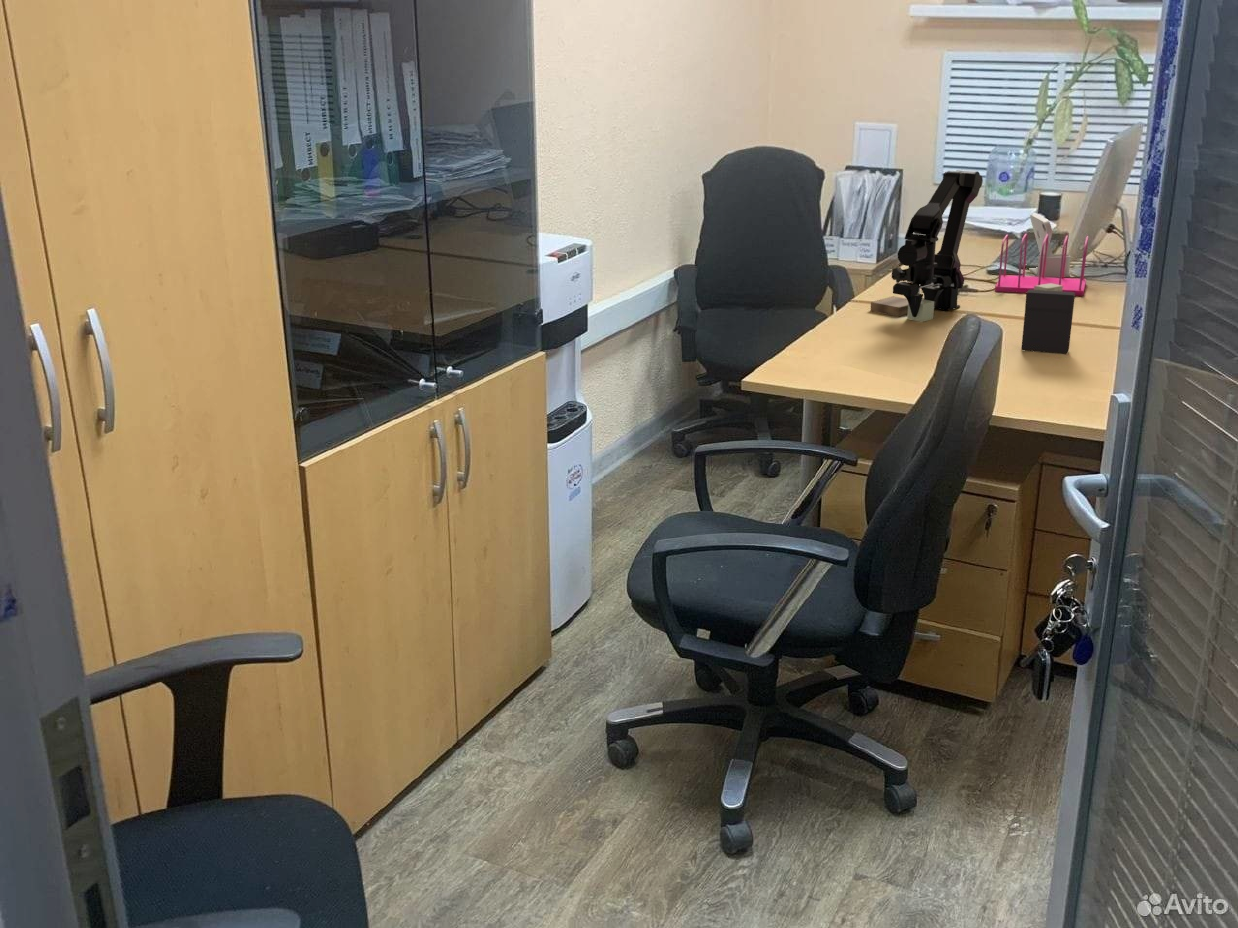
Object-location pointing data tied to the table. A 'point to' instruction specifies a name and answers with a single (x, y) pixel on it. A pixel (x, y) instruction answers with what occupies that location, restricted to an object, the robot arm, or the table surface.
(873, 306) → the walnut block
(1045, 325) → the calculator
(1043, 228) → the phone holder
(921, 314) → the sage cube
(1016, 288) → the file sorter
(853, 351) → the table surface
